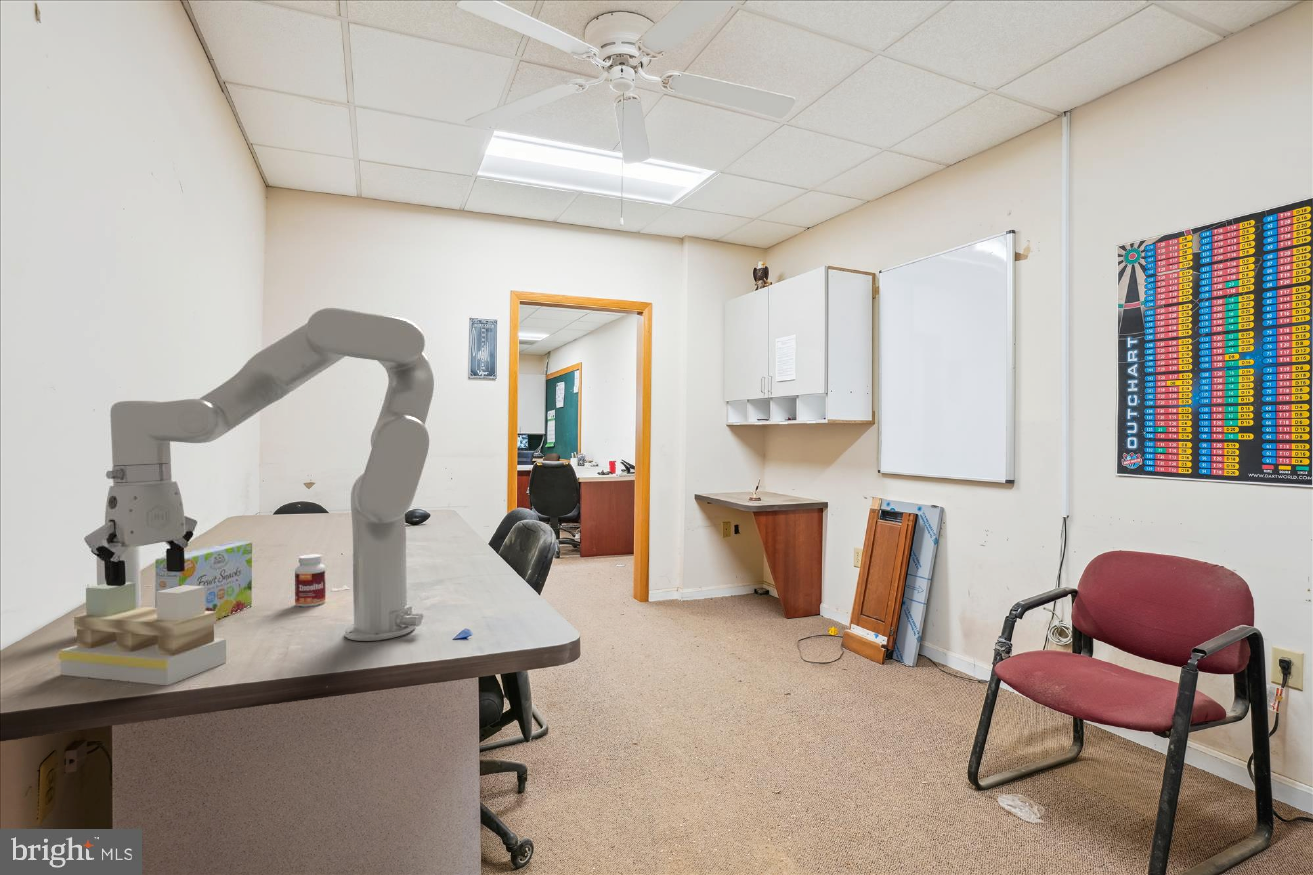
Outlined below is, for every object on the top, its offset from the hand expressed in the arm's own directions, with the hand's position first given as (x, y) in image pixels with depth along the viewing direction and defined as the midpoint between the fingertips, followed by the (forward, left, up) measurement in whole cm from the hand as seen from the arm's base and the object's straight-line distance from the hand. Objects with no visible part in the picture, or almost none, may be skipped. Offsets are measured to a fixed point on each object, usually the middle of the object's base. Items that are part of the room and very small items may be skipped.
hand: (147, 578), depth 104 cm
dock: (0, 0, -15) cm, 15 cm away
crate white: (-7, 0, -6) cm, 9 cm away
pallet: (0, 0, -11) cm, 11 cm away
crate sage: (+8, 0, -6) cm, 10 cm away
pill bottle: (+4, -40, -15) cm, 43 cm away
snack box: (+16, -25, -15) cm, 33 cm away
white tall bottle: (+29, -17, -15) cm, 37 cm away
